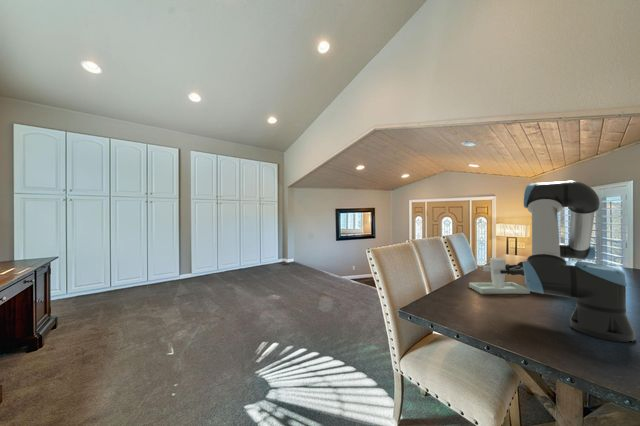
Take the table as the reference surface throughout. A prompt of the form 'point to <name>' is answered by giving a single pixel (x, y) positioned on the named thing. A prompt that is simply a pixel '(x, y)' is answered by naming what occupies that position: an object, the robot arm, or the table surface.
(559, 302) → the table surface
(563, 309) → the table surface
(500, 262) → the drinking glass
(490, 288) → the tray
